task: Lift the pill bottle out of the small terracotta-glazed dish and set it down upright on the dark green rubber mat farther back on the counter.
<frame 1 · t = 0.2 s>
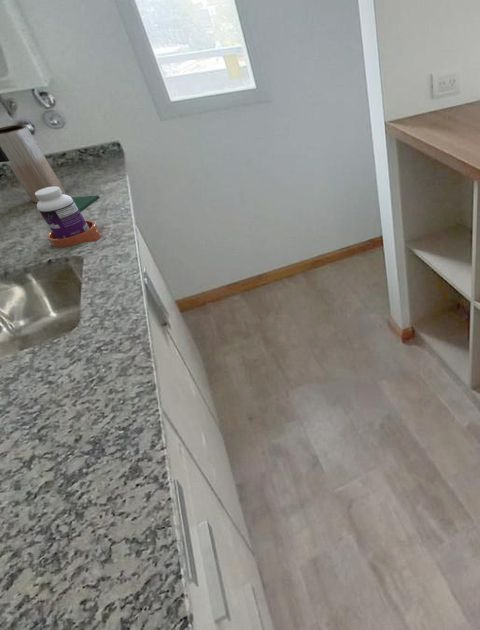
bowl: (78, 240, 123), on the countertop
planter: (50, 197, 153), on the countertop
mat: (71, 206, 144), on the countertop
pill bottle: (77, 240, 123), resting on bowl
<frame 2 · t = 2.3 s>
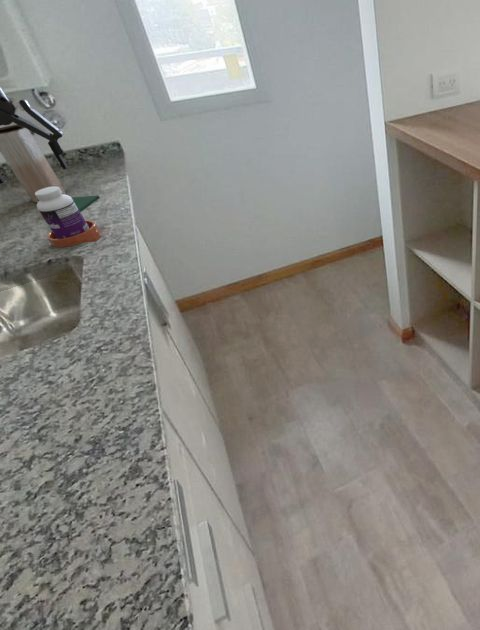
hand: (34, 174, 111), 19 cm above the countertop, tool pointing down, fingers open, 13 cm apart
nothing on the countertop moved.
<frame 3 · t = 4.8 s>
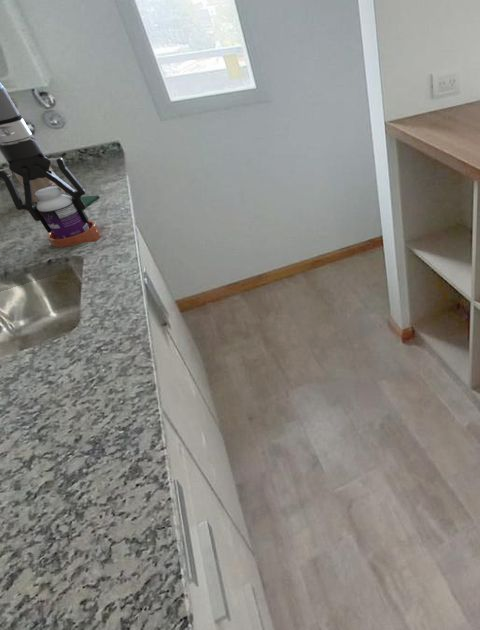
hand: (68, 225, 120), 5 cm above the countertop, tool pointing down, fingers closed on pill bottle, 8 cm apart
pill bottle: (77, 240, 123), resting on bowl, touching gripper
everything else where it was.
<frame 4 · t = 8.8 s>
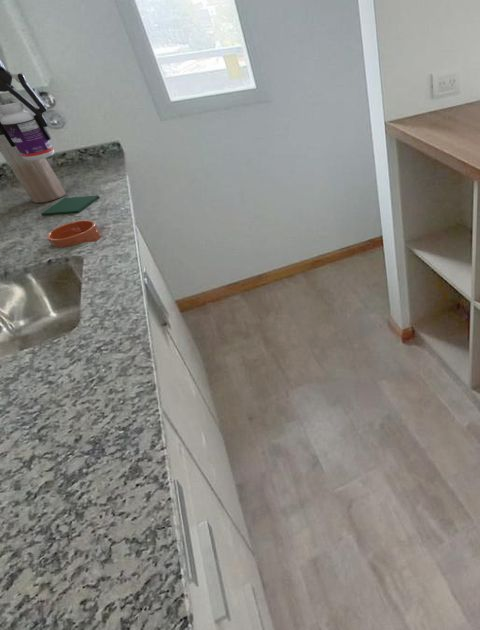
hand: (31, 142, 128), 21 cm above the countertop, tool pointing down, fingers closed on pill bottle, 8 cm apart
pill bottle: (41, 157, 131), point 17 cm above the countertop, touching gripper
everything else where it was.
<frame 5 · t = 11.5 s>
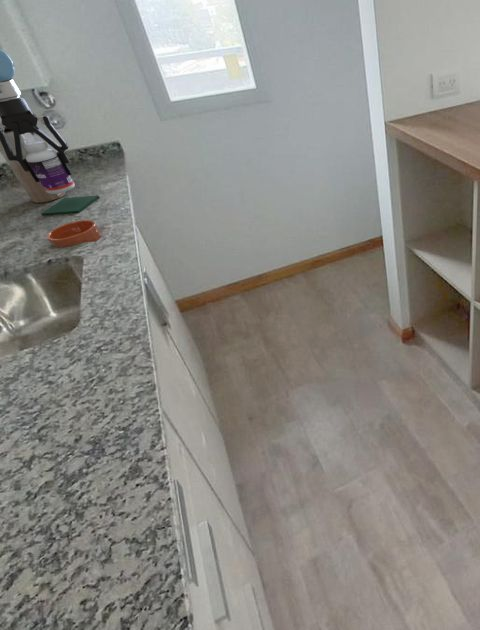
hand: (54, 177, 138), 10 cm above the countertop, tool pointing down, fingers closed on pill bottle, 8 cm apart
pill bottle: (62, 190, 141), point 5 cm above the countertop, touching gripper
everything else where it was.
when the fingers open (5 cm above the countertop, at t = 13.2 s): pill bottle stays where it is, resting on mat.
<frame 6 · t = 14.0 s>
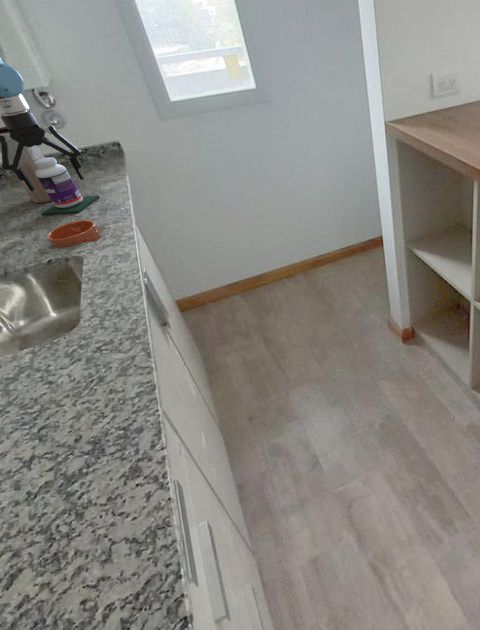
hand: (58, 184, 139), 8 cm above the countertop, tool pointing down, fingers open, 13 cm apart
pill bottle: (70, 204, 144), point 1 cm above the countertop, touching mat
everything else where it was.
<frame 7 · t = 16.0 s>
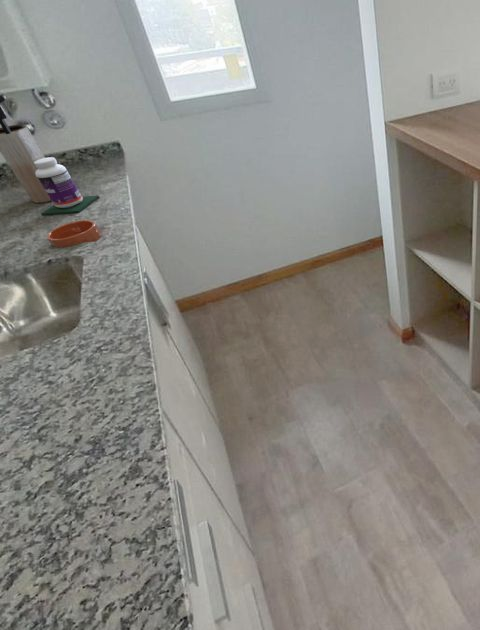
nothing on the countertop moved.
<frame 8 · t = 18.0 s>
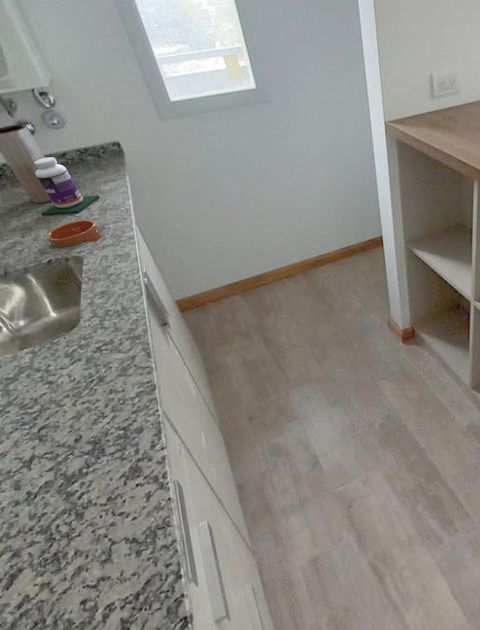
nothing on the countertop moved.
at the end: pill bottle inside the target area on the mat (0.0 cm from its centre), point 0.6 cm above the mat's base; pill bottle tilted 0°; the gripper is holding nothing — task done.
